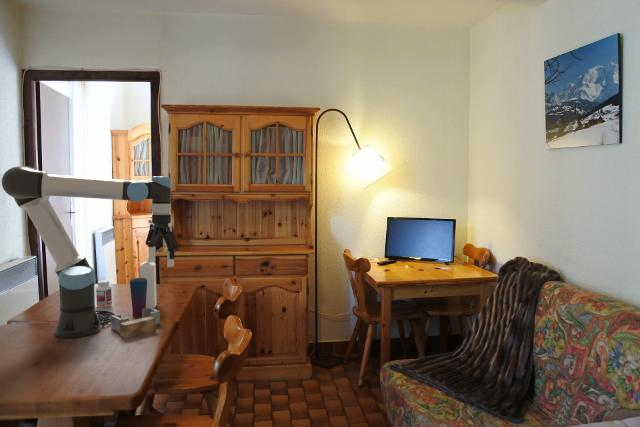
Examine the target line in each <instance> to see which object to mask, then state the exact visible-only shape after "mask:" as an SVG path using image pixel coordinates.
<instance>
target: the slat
mask: <svg viewBox="0 0 640 427" xmlns="http://www.w3.org/2000/svg"><path fill="white" fill-rule="evenodd" d="M155 331H156V325H155V318H154V317H151V316H149V317H145V318H142V317H141V318H140V317H139V318H137V319H132V320H129V321H127V322H123V323H120V333H119V337H121V338H123V339H128V338H132V337H136V336H140V335H144V334H149V333H151V332H155Z"/></svg>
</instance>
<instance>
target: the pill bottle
mask: <svg viewBox="0 0 640 427" xmlns="http://www.w3.org/2000/svg"><path fill="white" fill-rule="evenodd" d="M95 294H96V307H98V308H107V307H111V306H112V304H113V299H112V295H113V294H112V286H111V285H110V280H105V279H103V280H98V281H97V286H96V289H95Z"/></svg>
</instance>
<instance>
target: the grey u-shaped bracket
mask: <svg viewBox="0 0 640 427" xmlns="http://www.w3.org/2000/svg"><path fill="white" fill-rule="evenodd" d="M127 321H130V317H123V318H122V314H121V313H118V314H117V313H116V314H114V315H110V322H111V323H110V326H111V329H112V330H113V331H115V332H117V333H119V334H120V323H123V322H127Z"/></svg>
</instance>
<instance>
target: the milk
mask: <svg viewBox="0 0 640 427" xmlns="http://www.w3.org/2000/svg"><path fill="white" fill-rule="evenodd" d="M139 278H147V295H146V308H153V309H156V306H157V264H156V262H150V263H149V255H148V256H147V257H146V260H145V261H144V262H142V263H141V264H140V265H139Z"/></svg>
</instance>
